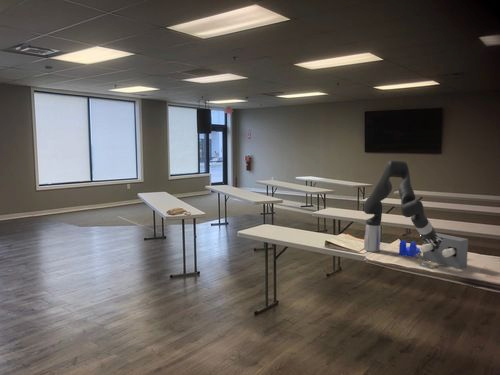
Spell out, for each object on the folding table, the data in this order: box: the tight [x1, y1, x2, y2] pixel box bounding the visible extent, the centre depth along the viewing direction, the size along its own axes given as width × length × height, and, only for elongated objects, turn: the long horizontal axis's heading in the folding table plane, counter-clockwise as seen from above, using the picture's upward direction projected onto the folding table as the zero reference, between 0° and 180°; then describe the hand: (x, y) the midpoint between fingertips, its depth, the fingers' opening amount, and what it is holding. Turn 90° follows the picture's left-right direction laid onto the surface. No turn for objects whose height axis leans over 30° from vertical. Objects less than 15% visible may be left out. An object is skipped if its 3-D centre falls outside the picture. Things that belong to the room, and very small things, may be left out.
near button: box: [442, 248, 457, 257], centre depth 219 cm, size 8×4×4 cm, turn 124°
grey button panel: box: [422, 232, 469, 270], centre depth 228 cm, size 8×22×16 cm, turn 34°
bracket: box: [398, 239, 421, 258], centre depth 250 cm, size 18×8×9 cm, turn 140°
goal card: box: [418, 262, 438, 270], centre depth 223 cm, size 6×8×1 cm
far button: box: [420, 243, 434, 253], centre depth 230 cm, size 8×4×4 cm, turn 124°
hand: (437, 247), depth 211 cm, fingers closed
